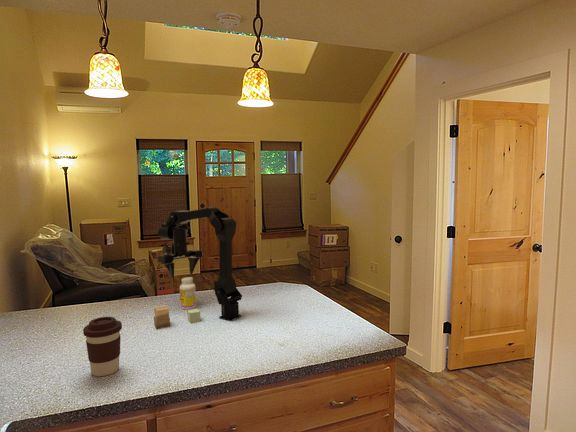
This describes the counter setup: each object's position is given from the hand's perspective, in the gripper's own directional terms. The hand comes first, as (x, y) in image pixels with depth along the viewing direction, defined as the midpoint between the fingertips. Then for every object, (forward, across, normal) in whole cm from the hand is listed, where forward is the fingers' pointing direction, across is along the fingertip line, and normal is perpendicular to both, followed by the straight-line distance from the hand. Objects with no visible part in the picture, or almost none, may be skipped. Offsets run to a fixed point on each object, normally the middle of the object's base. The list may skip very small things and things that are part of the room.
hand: (181, 275), depth 165 cm
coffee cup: (+14, +46, +32) cm, 58 cm away
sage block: (+14, +6, +17) cm, 23 cm away
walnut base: (+14, +17, +12) cm, 25 cm away
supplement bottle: (+14, -1, +1) cm, 14 cm away
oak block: (+11, +17, +12) cm, 23 cm away
